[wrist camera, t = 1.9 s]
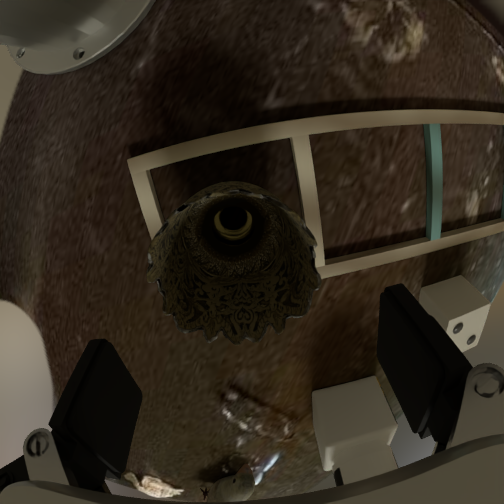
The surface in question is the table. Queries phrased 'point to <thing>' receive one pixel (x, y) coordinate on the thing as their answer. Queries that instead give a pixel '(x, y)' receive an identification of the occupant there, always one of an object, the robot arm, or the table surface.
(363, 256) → the ladder
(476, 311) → the die
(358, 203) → the table surface
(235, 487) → the decorative bird
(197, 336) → the table surface
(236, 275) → the dark patterned vase
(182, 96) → the table surface
